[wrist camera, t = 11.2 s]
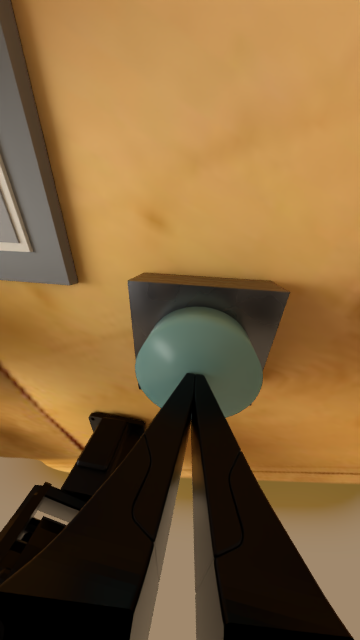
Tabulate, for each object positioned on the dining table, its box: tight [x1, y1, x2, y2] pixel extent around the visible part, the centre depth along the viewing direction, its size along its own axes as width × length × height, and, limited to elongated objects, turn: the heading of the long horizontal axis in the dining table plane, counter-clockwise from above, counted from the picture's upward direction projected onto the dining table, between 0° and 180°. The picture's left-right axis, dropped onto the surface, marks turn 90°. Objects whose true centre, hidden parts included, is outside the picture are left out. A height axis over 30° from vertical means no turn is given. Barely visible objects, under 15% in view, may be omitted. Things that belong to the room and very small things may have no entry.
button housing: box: [128, 273, 290, 406], centre depth 11 cm, size 8×8×2 cm
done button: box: [135, 307, 263, 418], centre depth 9 cm, size 6×6×2 cm
